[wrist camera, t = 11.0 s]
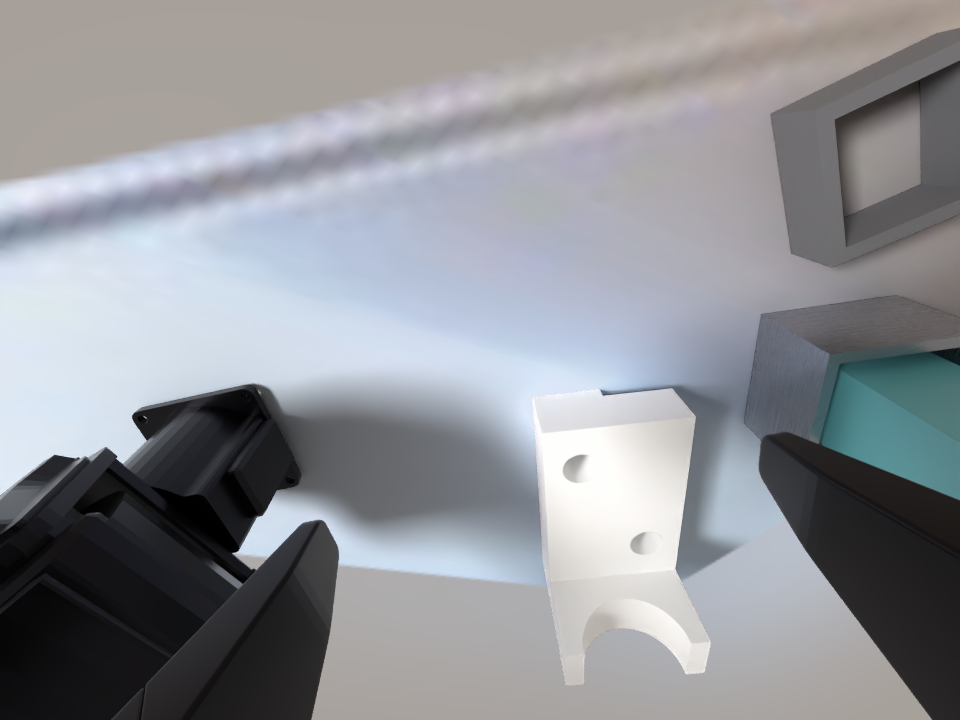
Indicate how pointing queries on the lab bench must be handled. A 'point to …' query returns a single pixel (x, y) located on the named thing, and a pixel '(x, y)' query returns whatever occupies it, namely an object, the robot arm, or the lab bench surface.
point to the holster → (815, 168)
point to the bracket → (615, 520)
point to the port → (833, 355)
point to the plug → (899, 417)
